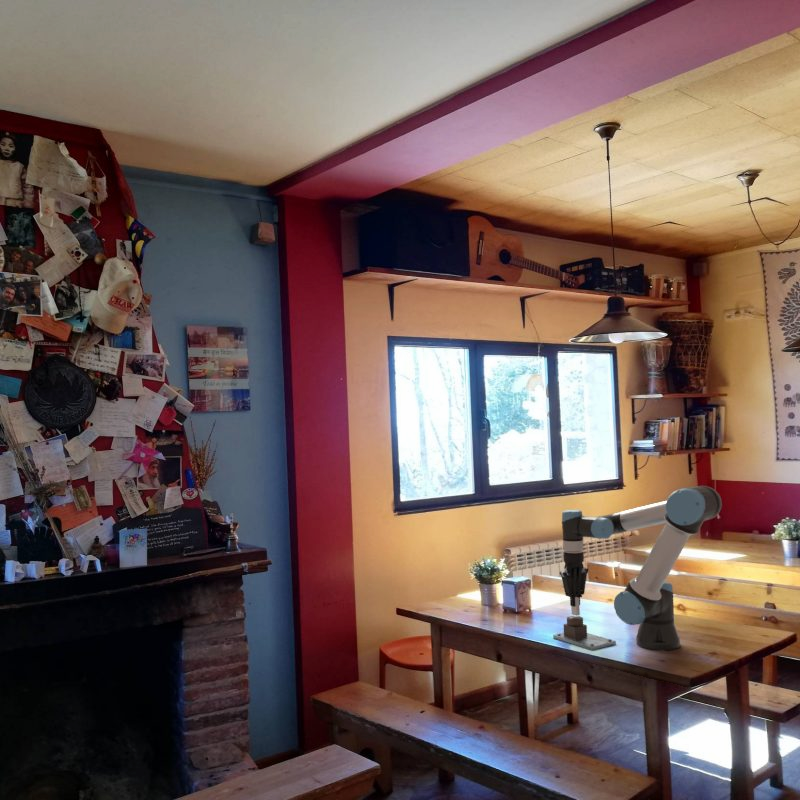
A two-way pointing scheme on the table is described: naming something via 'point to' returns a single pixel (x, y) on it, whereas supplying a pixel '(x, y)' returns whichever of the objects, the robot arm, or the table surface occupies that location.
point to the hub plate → (586, 641)
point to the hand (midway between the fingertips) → (575, 614)
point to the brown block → (575, 627)
